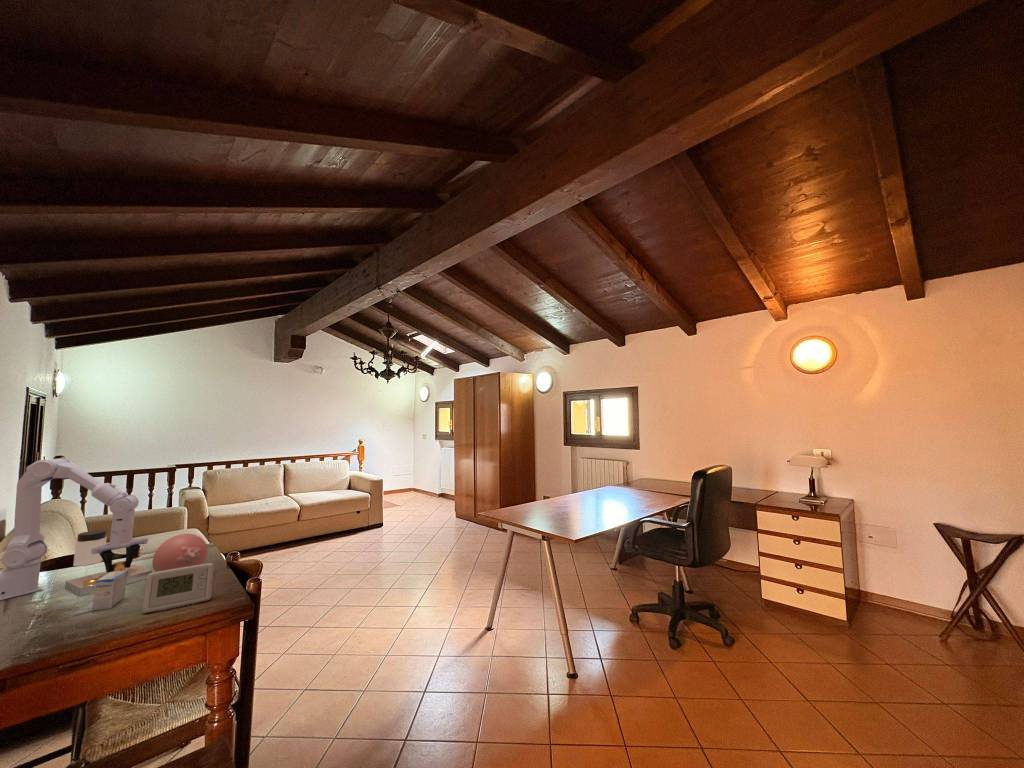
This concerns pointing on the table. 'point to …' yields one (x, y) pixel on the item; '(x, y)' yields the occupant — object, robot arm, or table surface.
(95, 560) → the jar
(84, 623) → the table surface
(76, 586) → the jig
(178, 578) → the digital clock
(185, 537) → the pink oval ball
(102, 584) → the medicine box
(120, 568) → the bushing
